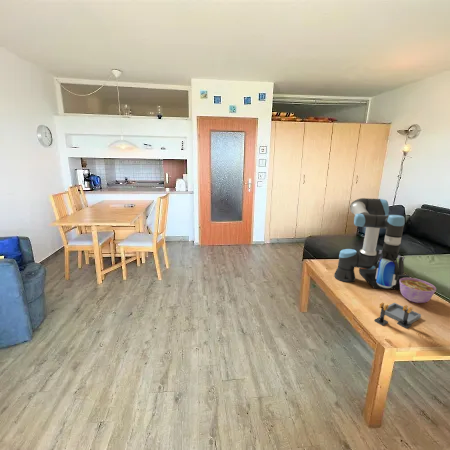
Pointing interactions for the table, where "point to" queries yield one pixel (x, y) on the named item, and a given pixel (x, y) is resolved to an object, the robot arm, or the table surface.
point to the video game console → (370, 277)
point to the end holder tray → (401, 313)
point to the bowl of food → (416, 290)
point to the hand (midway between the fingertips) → (385, 281)
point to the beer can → (385, 273)
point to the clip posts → (403, 324)
